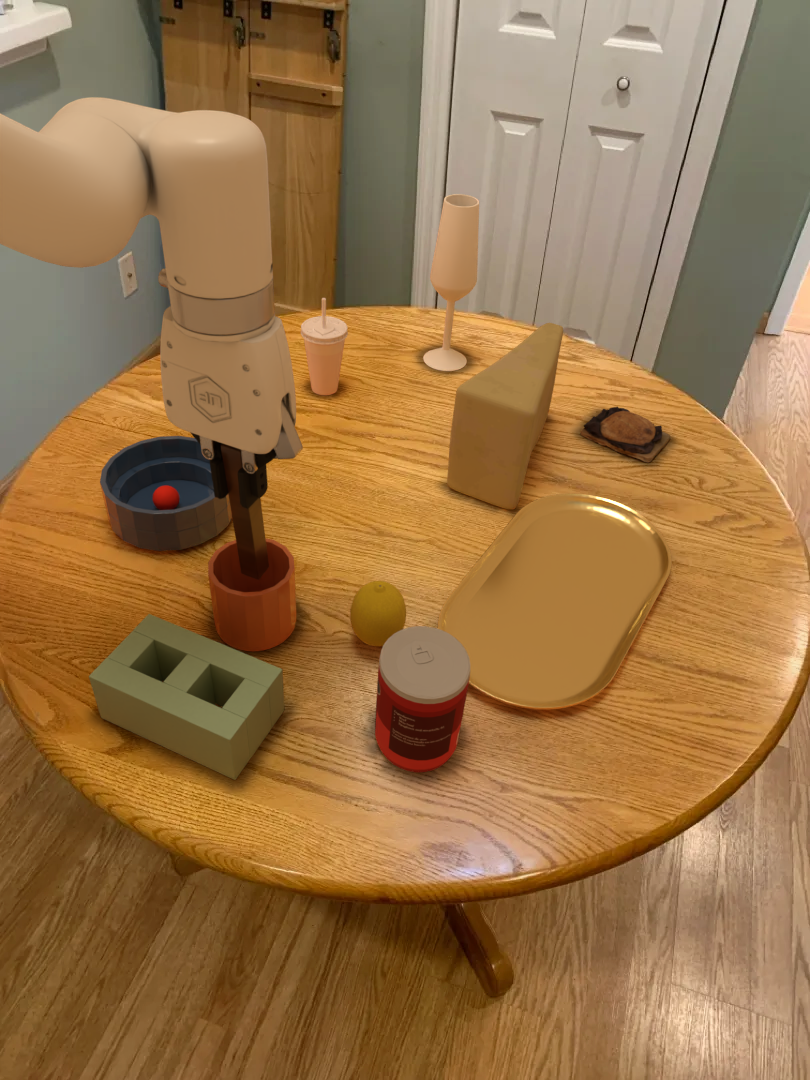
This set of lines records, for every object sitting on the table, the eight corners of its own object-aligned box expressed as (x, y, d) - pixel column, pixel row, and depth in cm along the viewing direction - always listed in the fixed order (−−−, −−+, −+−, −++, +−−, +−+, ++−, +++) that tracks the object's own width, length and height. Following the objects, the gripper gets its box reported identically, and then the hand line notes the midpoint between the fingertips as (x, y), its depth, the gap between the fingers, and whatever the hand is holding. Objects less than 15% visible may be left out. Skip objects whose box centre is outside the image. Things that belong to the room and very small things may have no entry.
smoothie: (299, 398, 118) (296, 306, 109) (304, 374, 123) (303, 284, 114) (344, 402, 118) (346, 309, 109) (348, 378, 123) (350, 287, 114)
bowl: (103, 558, 92) (93, 517, 88) (115, 478, 103) (107, 438, 99) (235, 550, 95) (231, 509, 91) (234, 473, 105) (230, 433, 101)
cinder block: (235, 780, 73) (229, 740, 69) (100, 717, 77) (88, 676, 73) (285, 709, 79) (282, 668, 75) (157, 655, 83) (148, 613, 79)
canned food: (422, 690, 82) (432, 612, 74) (475, 748, 77) (491, 672, 70) (356, 726, 78) (360, 648, 71) (408, 790, 73) (417, 714, 66)
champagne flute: (437, 374, 125) (453, 212, 109) (415, 353, 130) (427, 194, 114) (475, 365, 128) (496, 206, 112) (452, 345, 132) (469, 188, 116)
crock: (215, 654, 83) (207, 598, 78) (215, 595, 89) (208, 539, 84) (298, 648, 85) (296, 592, 79) (293, 590, 91) (291, 534, 85)
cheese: (509, 405, 120) (525, 308, 110) (573, 426, 117) (596, 328, 107) (441, 488, 105) (453, 384, 95) (513, 514, 102) (534, 410, 92)
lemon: (386, 670, 83) (390, 614, 78) (339, 647, 85) (339, 591, 80) (413, 634, 87) (419, 579, 82) (367, 613, 89) (369, 558, 83)
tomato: (145, 502, 95) (166, 487, 95) (147, 490, 98) (168, 476, 98) (164, 520, 97) (184, 506, 97) (165, 508, 100) (185, 494, 99)
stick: (258, 580, 81) (240, 452, 70) (240, 573, 82) (219, 445, 70) (269, 566, 83) (253, 438, 71) (251, 560, 83) (233, 431, 72)
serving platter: (402, 661, 84) (403, 651, 83) (545, 484, 107) (547, 474, 106) (576, 750, 78) (579, 740, 77) (689, 541, 101) (692, 531, 100)
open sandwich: (672, 439, 117) (680, 417, 114) (647, 467, 111) (654, 444, 109) (603, 410, 121) (609, 388, 119) (575, 435, 116) (581, 412, 113)
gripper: (101, 294, 62) (139, 490, 74) (290, 349, 57) (298, 548, 70) (164, 257, 67) (190, 446, 79) (342, 305, 63) (340, 498, 75)
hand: (240, 493), depth 74 cm, fingers closed on stick, 2 cm apart
